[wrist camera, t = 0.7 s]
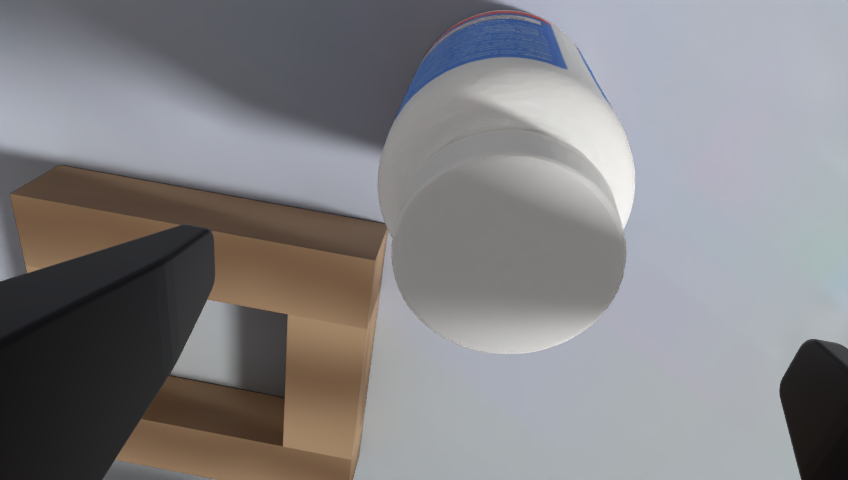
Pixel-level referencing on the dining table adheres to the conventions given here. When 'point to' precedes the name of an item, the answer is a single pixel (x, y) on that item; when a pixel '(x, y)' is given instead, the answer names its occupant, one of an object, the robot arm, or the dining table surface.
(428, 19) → the dining table surface
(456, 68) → the pill bottle
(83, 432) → the robot arm
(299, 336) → the socket block
